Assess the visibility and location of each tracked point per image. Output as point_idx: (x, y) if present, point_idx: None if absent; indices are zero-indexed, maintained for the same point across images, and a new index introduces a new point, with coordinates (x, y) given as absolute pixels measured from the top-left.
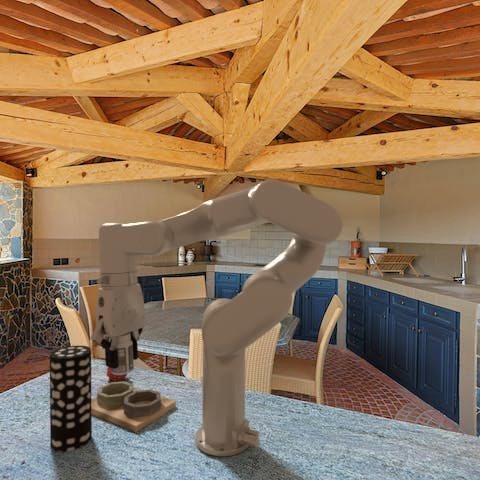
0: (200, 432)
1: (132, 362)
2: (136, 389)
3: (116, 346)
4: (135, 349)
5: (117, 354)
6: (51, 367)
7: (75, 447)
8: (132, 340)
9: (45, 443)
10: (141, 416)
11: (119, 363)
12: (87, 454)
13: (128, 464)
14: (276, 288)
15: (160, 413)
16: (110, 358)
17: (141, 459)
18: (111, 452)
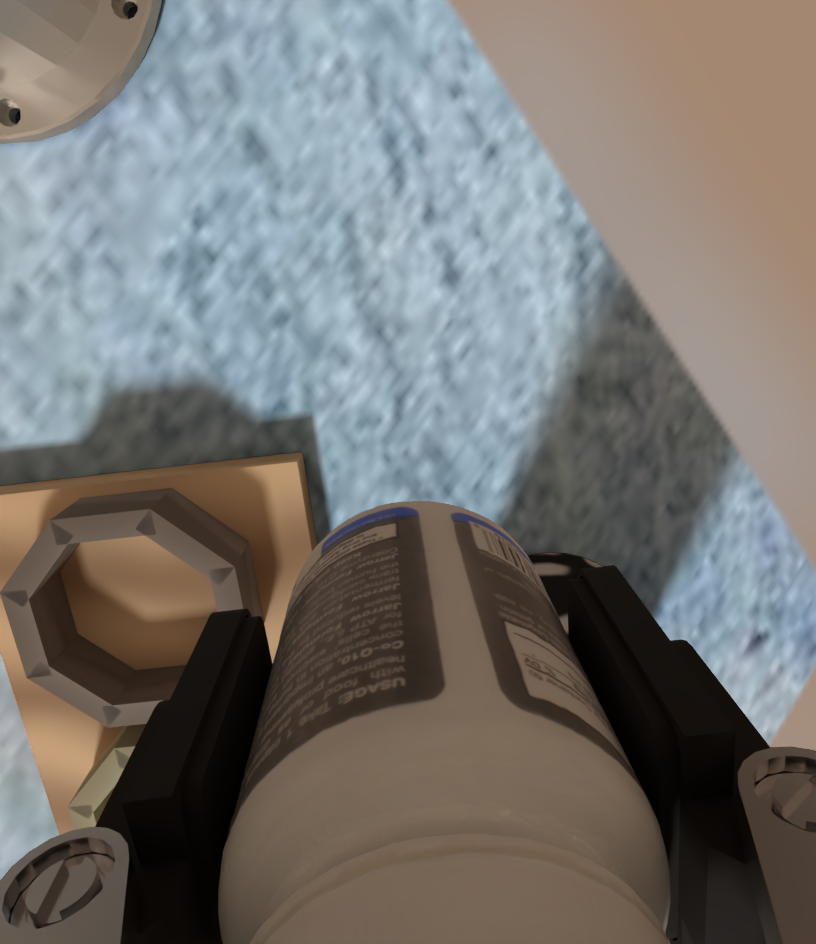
0: (60, 86)
1: (346, 558)
2: (54, 787)
3: (654, 833)
4: (215, 701)
5: (644, 673)
6: None
7: (582, 560)
8: (184, 897)
9: None
10: (216, 518)
11: (543, 606)
12: (568, 480)
13: (501, 245)
14: None
15: (102, 478)
16: (721, 687)
17: (434, 223)
18: (490, 402)
